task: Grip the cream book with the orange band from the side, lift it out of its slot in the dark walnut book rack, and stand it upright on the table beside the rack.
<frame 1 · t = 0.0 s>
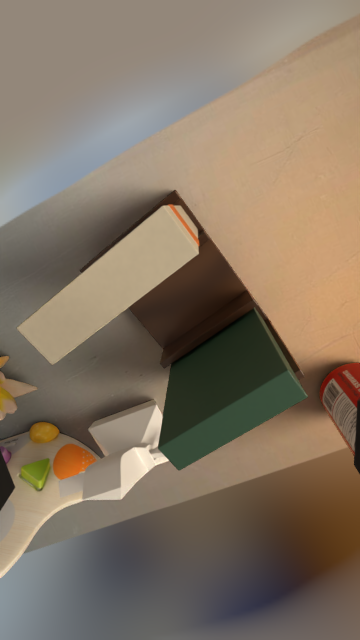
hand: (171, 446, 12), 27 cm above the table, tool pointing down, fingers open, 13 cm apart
book: (148, 250, 35), point 1 cm above the table, touching book rack
white angular piece: (141, 423, 44), on the table
shape sorter: (31, 456, 47), on the table
book rack: (182, 290, 37), on the table
soda can: (348, 386, 41), on the table
green book: (216, 336, 38), point 1 cm above the table, touching book rack
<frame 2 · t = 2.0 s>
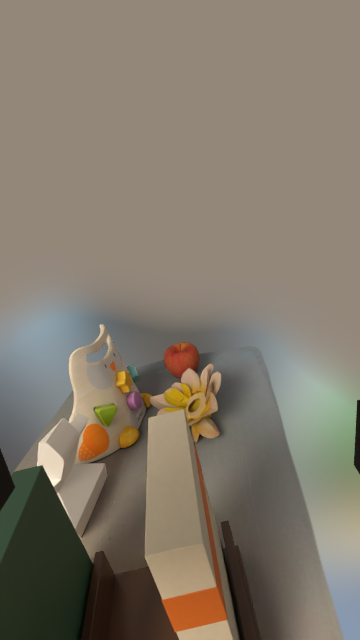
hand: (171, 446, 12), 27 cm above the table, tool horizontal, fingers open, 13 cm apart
book: (220, 623, 27), point 1 cm above the table, touching book rack
decorative flower: (191, 421, 55), on the table
white angular piece: (72, 514, 43), on the table
shape sorter: (121, 424, 59), on the table
apple: (186, 376, 69), on the table
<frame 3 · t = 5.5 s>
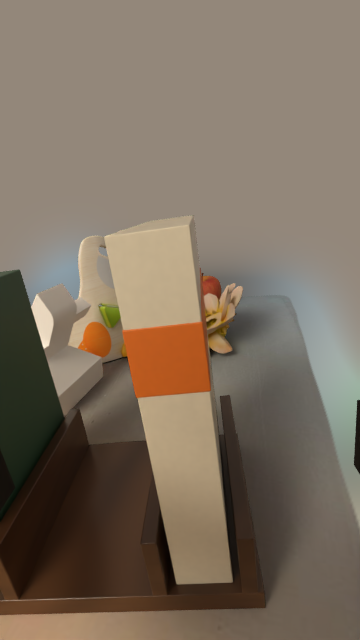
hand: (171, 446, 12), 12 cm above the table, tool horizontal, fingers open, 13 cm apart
book: (202, 494, 22), point 1 cm above the table, touching book rack
decorative flower: (203, 343, 49), on the table
white angular piece: (58, 401, 39), on the table
shape sorter: (127, 342, 54), on the table
book rack: (120, 512, 23), on the table
apple: (204, 312, 63), on the table
green book: (29, 505, 23), point 1 cm above the table, touching book rack
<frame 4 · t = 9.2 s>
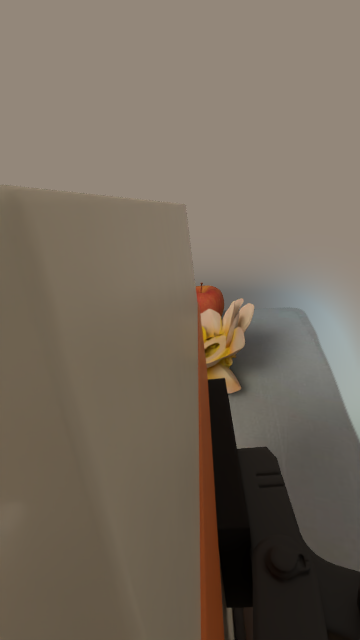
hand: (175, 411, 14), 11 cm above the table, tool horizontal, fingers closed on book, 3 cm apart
decorative flower: (203, 374, 39), on the table
apple: (203, 329, 53), on the table
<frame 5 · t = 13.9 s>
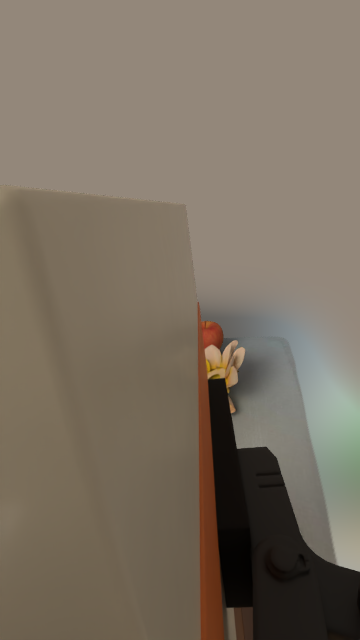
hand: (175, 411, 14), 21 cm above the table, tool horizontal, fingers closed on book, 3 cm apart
decorative flower: (207, 397, 52), on the table
book rack: (140, 602, 26), on the table
apple: (207, 356, 66), on the table
when the fingers open (10 cm above the table, at t = 18.5 s): book stays where it is, on the table.
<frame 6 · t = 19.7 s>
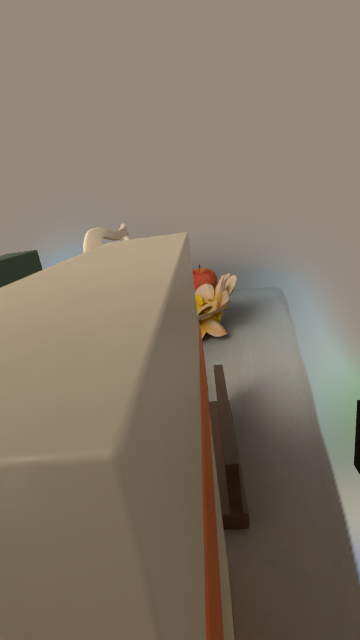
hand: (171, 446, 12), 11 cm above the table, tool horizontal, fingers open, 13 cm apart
decorative flower: (200, 329, 53), on the table
shape sorter: (128, 329, 57), on the table
book rack: (125, 464, 26), on the table
apple: (201, 303, 66), on the table
green book: (45, 458, 26), point 1 cm above the table, touching book rack
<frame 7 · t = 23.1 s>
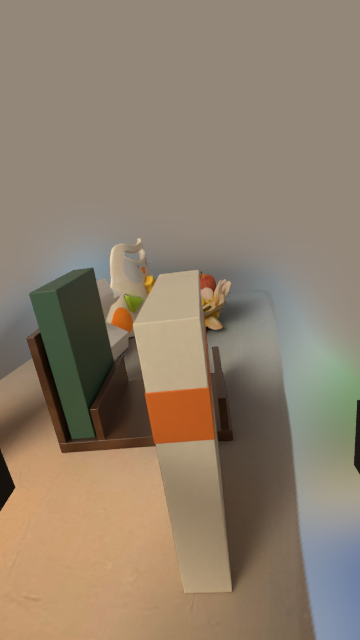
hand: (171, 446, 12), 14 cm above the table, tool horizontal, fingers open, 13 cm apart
book: (205, 513, 25), on the table
decorative flower: (201, 324, 65), on the table
white angular piece: (98, 362, 55), on the table
shape sorter: (143, 324, 70), on the table
book rack: (152, 411, 39), on the table
apple: (202, 303, 79), on the table
green book: (98, 407, 39), point 1 cm above the table, touching book rack
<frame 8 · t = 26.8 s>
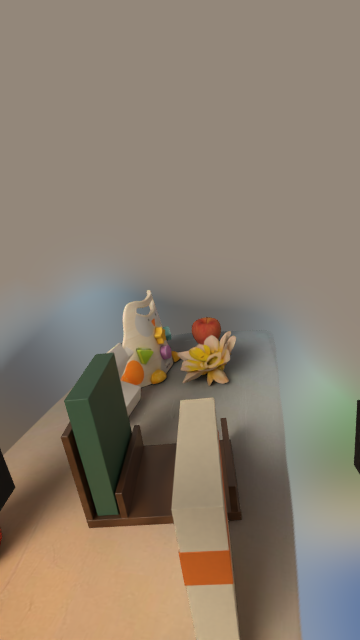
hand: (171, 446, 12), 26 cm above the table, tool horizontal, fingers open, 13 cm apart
book: (219, 602, 29), on the table
decorative flower: (208, 373, 70), on the table
white angular piece: (113, 417, 59), on the table
shape sorter: (152, 370, 74), on the table
book rack: (167, 482, 43), on the table
apple: (208, 345, 83), on the table
green book: (118, 478, 43), point 1 cm above the table, touching book rack
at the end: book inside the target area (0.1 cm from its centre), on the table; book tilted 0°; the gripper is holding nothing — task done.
